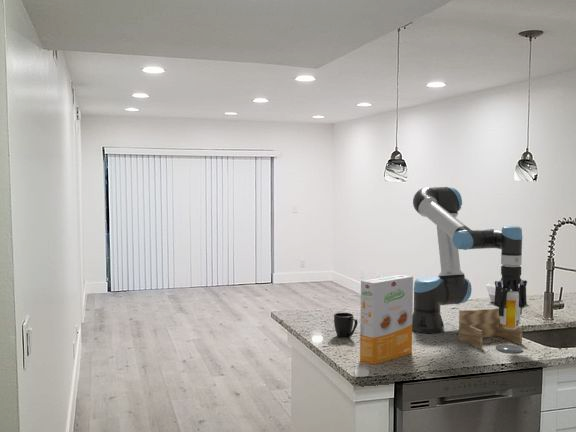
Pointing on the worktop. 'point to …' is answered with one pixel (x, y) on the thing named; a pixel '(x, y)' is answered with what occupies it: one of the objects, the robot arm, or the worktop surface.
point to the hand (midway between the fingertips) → (510, 323)
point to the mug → (344, 324)
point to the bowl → (492, 291)
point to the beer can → (512, 310)
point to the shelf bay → (484, 327)
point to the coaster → (508, 348)
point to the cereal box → (386, 318)
